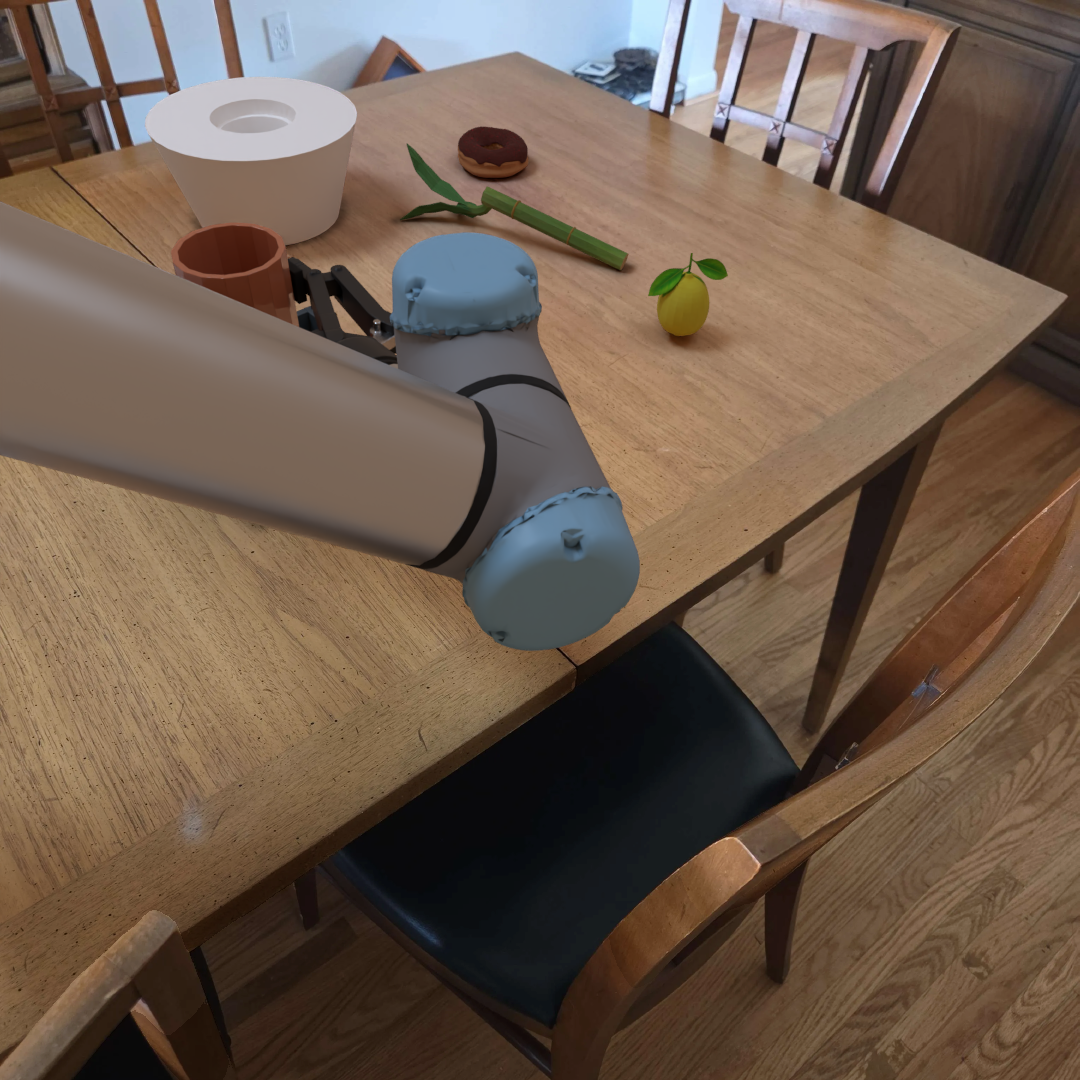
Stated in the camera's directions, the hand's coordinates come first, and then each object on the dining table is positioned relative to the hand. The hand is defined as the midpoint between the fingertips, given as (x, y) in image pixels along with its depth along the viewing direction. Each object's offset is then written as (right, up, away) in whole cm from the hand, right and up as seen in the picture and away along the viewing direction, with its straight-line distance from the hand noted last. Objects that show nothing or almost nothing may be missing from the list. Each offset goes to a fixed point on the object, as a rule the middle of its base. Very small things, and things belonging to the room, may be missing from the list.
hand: (208, 271), depth 73 cm
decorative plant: (+23, +16, +42) cm, 51 cm away
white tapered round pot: (-8, +20, +44) cm, 49 cm away
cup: (+3, -7, +2) cm, 8 cm away
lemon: (+41, +1, +29) cm, 51 cm away
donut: (+20, +31, +56) cm, 67 cm away
